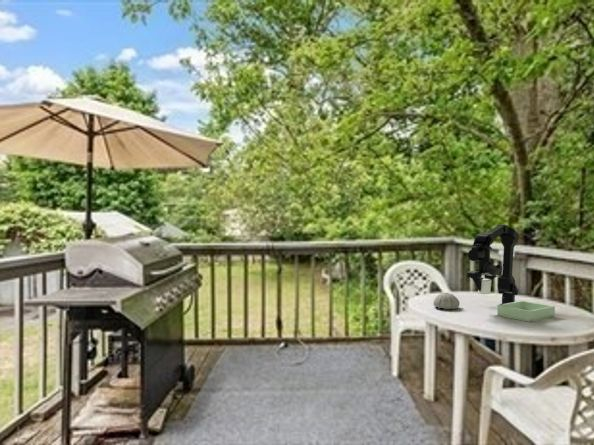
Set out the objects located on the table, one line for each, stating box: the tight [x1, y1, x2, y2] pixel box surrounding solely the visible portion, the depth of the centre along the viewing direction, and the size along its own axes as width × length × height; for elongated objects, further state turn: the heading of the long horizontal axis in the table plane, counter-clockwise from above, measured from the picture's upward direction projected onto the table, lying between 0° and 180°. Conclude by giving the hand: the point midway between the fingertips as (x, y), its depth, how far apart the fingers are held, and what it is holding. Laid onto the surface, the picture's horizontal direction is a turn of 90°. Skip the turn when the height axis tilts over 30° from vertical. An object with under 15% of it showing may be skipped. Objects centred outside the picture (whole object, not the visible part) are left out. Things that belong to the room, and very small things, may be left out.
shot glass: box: [477, 277, 492, 295], centre depth 286 cm, size 7×7×7 cm
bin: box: [496, 300, 556, 323], centre depth 278 cm, size 18×18×5 cm
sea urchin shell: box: [433, 292, 461, 310], centre depth 300 cm, size 13×14×8 cm
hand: (484, 290), depth 287 cm, fingers closed on shot glass, 6 cm apart
